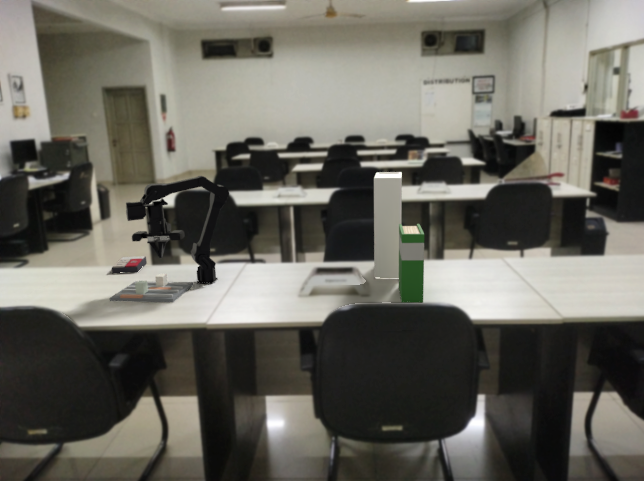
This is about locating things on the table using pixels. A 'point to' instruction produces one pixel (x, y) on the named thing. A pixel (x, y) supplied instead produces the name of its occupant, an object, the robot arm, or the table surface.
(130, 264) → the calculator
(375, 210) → the storage box
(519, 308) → the table surface
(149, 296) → the grey slider track board
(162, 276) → the cream slider
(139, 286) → the sage slider
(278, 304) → the table surface
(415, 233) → the hardback book
